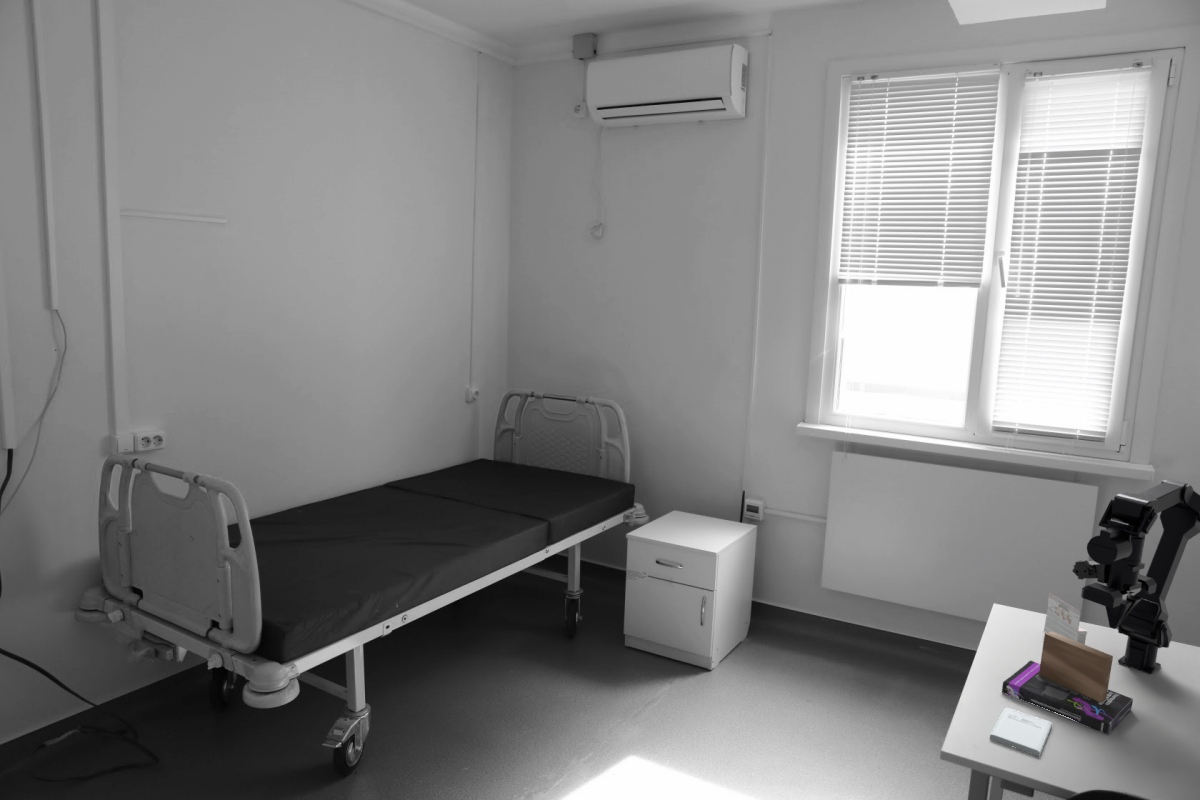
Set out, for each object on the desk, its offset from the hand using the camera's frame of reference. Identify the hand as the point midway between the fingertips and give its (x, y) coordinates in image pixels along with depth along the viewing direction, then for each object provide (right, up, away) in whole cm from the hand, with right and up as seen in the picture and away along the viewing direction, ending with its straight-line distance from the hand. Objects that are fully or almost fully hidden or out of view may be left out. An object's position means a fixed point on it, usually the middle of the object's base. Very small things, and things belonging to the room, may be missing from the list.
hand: (1113, 627), depth 170 cm
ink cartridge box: (+1, -9, +20) cm, 22 cm away
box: (-14, -14, -7) cm, 21 cm away
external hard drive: (-29, -15, -19) cm, 38 cm away
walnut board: (-12, -10, -6) cm, 17 cm away
